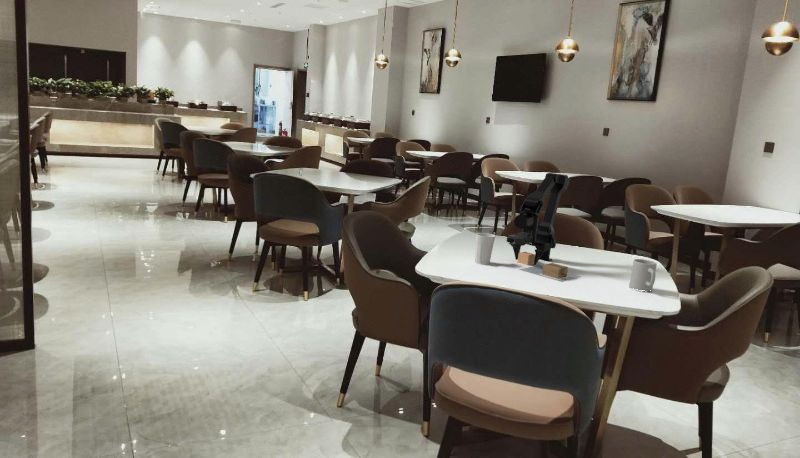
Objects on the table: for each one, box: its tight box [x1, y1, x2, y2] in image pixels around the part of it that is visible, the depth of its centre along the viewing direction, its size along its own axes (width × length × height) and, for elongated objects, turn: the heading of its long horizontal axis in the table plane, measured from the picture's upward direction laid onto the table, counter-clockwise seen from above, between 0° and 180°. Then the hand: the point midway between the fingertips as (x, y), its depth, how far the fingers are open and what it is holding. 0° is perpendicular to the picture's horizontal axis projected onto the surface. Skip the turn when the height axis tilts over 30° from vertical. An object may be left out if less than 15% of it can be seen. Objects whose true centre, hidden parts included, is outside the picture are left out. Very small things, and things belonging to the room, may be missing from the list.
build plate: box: [518, 264, 582, 283], centre depth 246 cm, size 16×20×1 cm
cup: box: [474, 232, 496, 266], centre depth 255 cm, size 8×8×12 cm
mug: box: [628, 258, 657, 291], centre depth 234 cm, size 12×8×11 cm
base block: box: [542, 262, 569, 279], centre depth 242 cm, size 7×7×4 cm
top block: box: [517, 251, 535, 266], centre depth 259 cm, size 5×5×5 cm
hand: (525, 262), depth 260 cm, fingers open, 9 cm apart
